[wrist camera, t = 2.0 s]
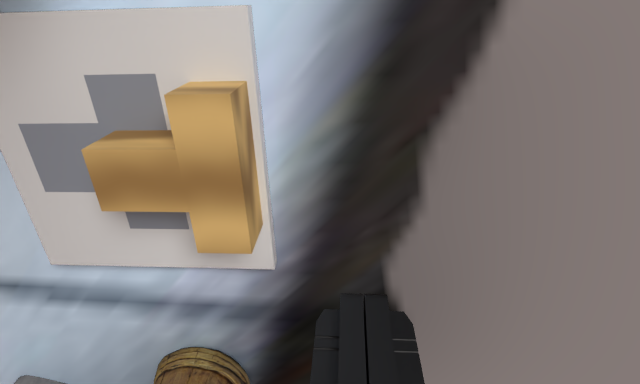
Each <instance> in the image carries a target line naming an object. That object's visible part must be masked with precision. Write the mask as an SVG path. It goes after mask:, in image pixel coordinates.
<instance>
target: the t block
mask: <svg viewBox="0 0 640 384" xmlns="http://www.w3.org/2000/svg"><path fill="white" fill-rule="evenodd" d="M164 98H165V103H166V107H167V112H168V117H169V121H170V126H171V130H121V131H114V132H112V133H110V134H108V135H106V136H105V137H103V138H101V139H99V140H98V141H96V142H94V143H92V144H90V145H89V146H87V147H85V148H83V149H82V150H81V151H82V154H83V157H84V160H85V163H86V166H87V169H88V172H89V175H90V178H91V181H92V184H93V187H94V190H95V193H96V196H97V199H98V202H99V205H100V208H101V211H124V212H189V214H190V219H191V224H192V228H193V233H194V238H195V242H196V247H197V252H198V253H228V254H252V252H253V249H254V247H255V244H256V242H257V239H258V236H259V234H260V231H261V228H262V226H263V220H262V211H261V202H260V193H259V185H258V176H257V167H256V158H255V149H254V141H253V132H252V123H251V114H250V105H249V97H248V88H247V81H203V82H188V83H186V84H184V85H182V86H180V87H178V88H176V89H174V90H172V91H170V92H168V93H166V94H165V95H164Z"/></svg>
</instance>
